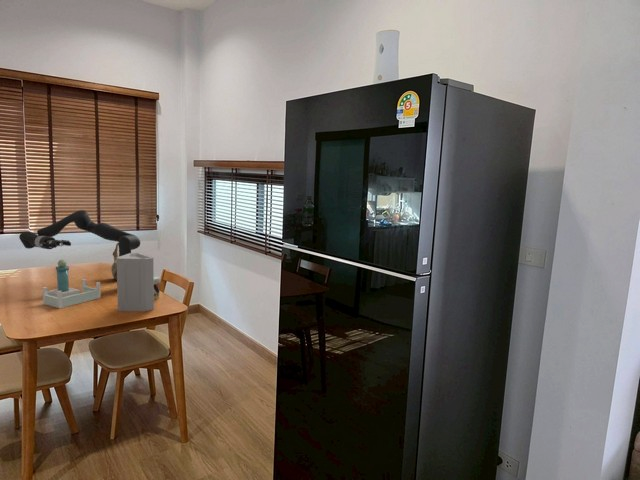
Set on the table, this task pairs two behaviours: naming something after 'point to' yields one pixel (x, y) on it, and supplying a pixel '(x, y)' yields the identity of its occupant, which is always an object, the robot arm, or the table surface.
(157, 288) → the coffee cup
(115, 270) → the ceramic vessel
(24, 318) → the table surface
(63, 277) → the teal peg with ball
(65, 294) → the stone tile
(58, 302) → the rectangular frame with posts
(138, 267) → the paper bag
